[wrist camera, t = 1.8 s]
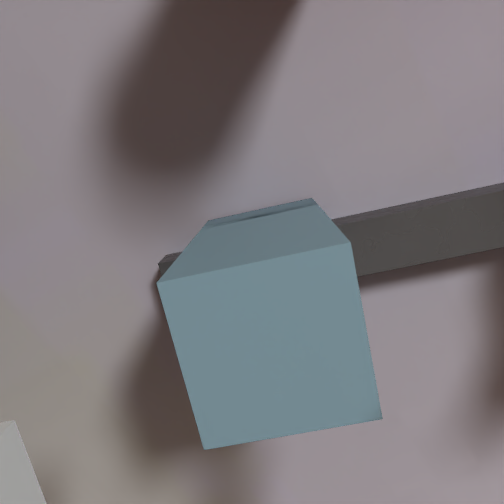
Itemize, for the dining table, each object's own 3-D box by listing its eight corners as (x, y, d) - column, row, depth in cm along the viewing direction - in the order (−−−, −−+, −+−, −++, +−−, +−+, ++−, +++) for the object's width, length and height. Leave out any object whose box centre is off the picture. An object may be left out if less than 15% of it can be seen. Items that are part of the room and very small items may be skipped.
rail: (179, 302, 27) (172, 314, 25) (166, 255, 26) (157, 263, 24) (591, 217, 25) (618, 223, 23) (587, 164, 24) (616, 166, 22)
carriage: (232, 317, 26) (204, 449, 15) (208, 220, 25) (156, 282, 14) (331, 297, 26) (382, 419, 14) (311, 197, 25) (350, 242, 13)
